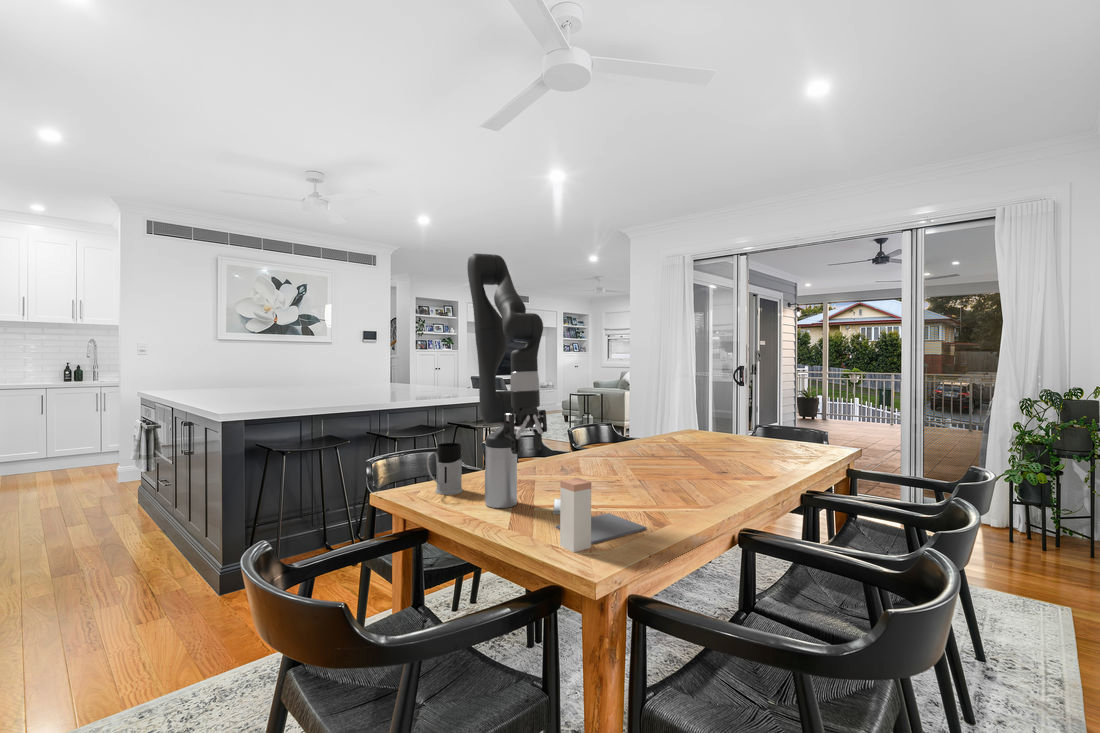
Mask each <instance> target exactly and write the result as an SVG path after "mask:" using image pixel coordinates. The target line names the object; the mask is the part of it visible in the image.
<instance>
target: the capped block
mask: <svg viewBox="0 0 1100 733" xmlns="http://www.w3.org/2000/svg"><path fill="white" fill-rule="evenodd" d="M559 495H560V496H559V497H560V498H559V499H560V514H559V518H560V519H559V522H560V524H559V525H560V529H559V530H560V531H559V546H561V548H564V549H565V550H568V551H570V552H571V553H577V552H581V551H585V550H589V549H591V548H592V544H591V517H592V481H590V480H587V479H582V478H580V477H574V478H569V479H563V480H560V492H559Z"/></svg>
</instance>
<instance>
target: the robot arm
mask: <svg viewBox="0 0 1100 733" xmlns="http://www.w3.org/2000/svg"><path fill="white" fill-rule="evenodd" d="M466 268H467V277H468V283H469V284H468V285H469V289H470V296H471V302H472V309H473V321H474V322H473V323H474V334H475V335H474V336H475V344H476V346H475V347H476V353H477V362H478V364H477V365H478V376H479V377H478V380H479V381H478V382H479V384H478V386H479V388H478V389H479V390H478V392H479V393H478V394H479V412H480V416H481V419H482V421H484V423H486V424H500V425H499V427H498V428H497V429H496V430H495V431H493V432H492V433H489V434H487V436H486V437H485V470H484V502H485V505H486V507H489V508H493V509H504V508H505V509H506V508H507V509H508V508H512V507H514V506H516V505H517V504H518V455H519V454H520V453H521V445H520V444H521V443H520V441H521V440H520V437H521V434H522V433H523V432H524V431H525V429H529V430H531V432H532V433H533V435H532V438H533V441H532V443H533V450H542V447H543V434H544V433H546V432H548V423H547V413H546V412H547V411H546V409H538V408H539V407H540V406H541V400H540V394H541V393H540V380H539V379H540V378H539V371H538V370H539V369H538V367H539V366H538V365H539V364H538V354H539V348H540V344H541V339H542V336H543V332H544V323H543V320H542V317H541V316H540V315H539V314H537V313H531V312H530V313H529V312H527V309H526V305H525V303H524V302H523V300H522V298H521V297H520V295H519V294H518V292H517V291H516V289H515V286H514V283H513V281H512V277H511V274H510V270H509V269H508V265H507V263H506V261H505V259H504V258H503V257H502V256H501V255H498V254H487V253H472V254H470V255H469V257H468V259H467V266H466ZM485 285H486V286H489V285H490V286H498V287H497V288H496V290H495V292H494V295H493V301H494V305H495V307H496V308H495V307H494V306H493V305H492V303H491V301H490V300H489V298H488V295H487V294H486V290H485ZM496 309H497V310H496ZM508 339H509V340H512V341H526V343H525V346H523V347H521V348H517V349H514V350H512V351H511V353H510V379H509V380H510V382H509V383H510V390H502V391H501V390H497V389H496V388H497V387H496V385H497V384H496V380H497V379H496V378H497V377H496V376H497V372H498V369H499V366H500V365H501V363H502V361H503V360H504V357H505V354H506V352H507V348H508Z"/></svg>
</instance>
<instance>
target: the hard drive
mask: <svg viewBox="0 0 1100 733" xmlns="http://www.w3.org/2000/svg"><path fill="white" fill-rule="evenodd" d="M552 513H553V514H552V515H560V498H554V500H553V512H552Z"/></svg>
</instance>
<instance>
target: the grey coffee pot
mask: <svg viewBox="0 0 1100 733" xmlns="http://www.w3.org/2000/svg"><path fill="white" fill-rule="evenodd" d="M436 447H437V452H434V451H433V452H432V451H431V452H430V453H428V454H427V458H426V468H427V471H428V472H427V473H428V474H429V477H430V478H431V479H432V480H433V481H434V482H435V483H436V489H435V491H434V493H436V494H437V495H441V496H442V495H443V496H449V495H451V496H452V495H458V494H462V493H463V491H464V489H463V487H462V484H463V483H462V464H463V463H462V462H463V461H462V457H463V456H462V444H461V443H458V442H444V443H439V444H437V446H436ZM433 454H434V456H435V461H436V462H435V463H436V478H435V477H434V476H433V474H432V472H431V468H430V458H431V456H432V455H433Z"/></svg>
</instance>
